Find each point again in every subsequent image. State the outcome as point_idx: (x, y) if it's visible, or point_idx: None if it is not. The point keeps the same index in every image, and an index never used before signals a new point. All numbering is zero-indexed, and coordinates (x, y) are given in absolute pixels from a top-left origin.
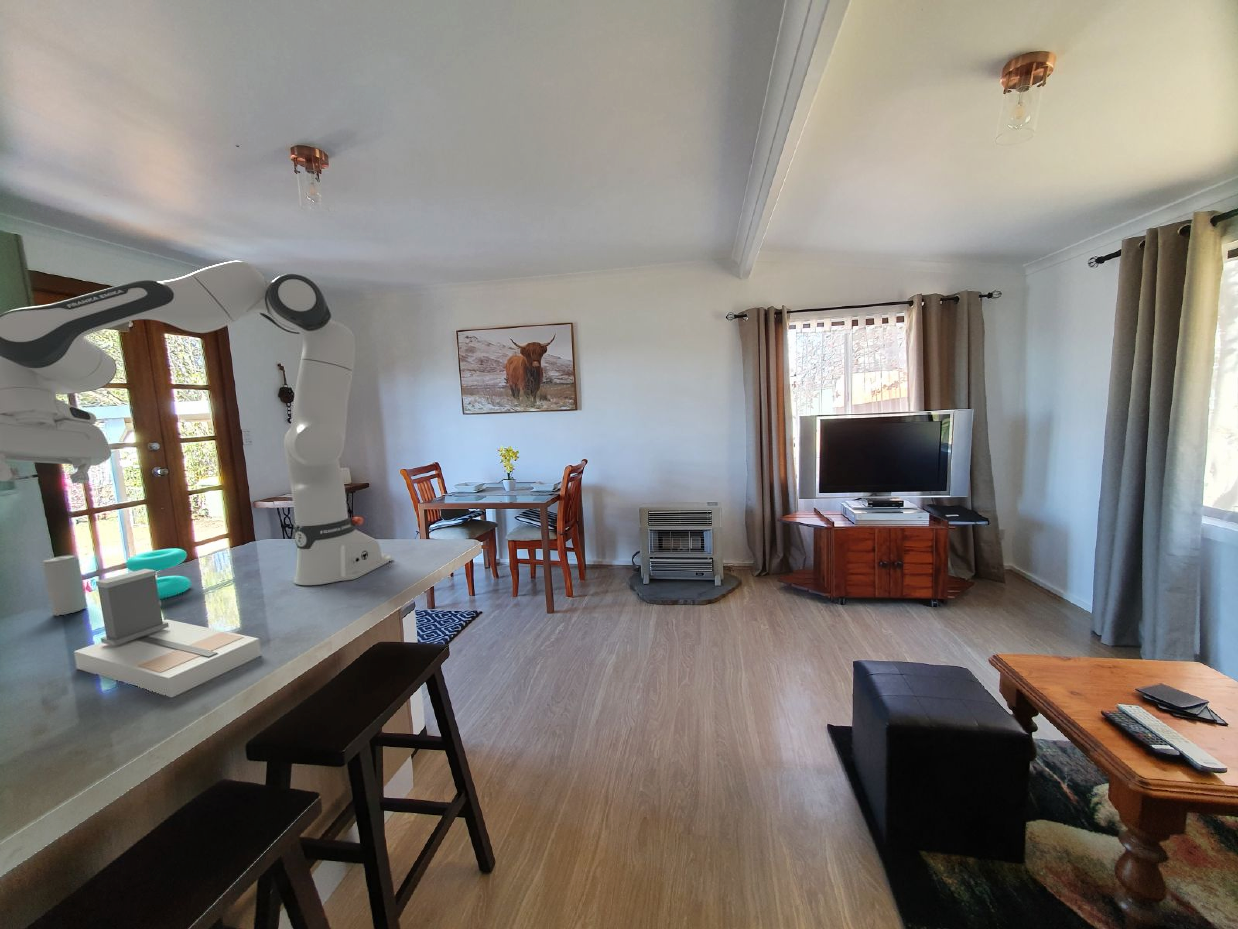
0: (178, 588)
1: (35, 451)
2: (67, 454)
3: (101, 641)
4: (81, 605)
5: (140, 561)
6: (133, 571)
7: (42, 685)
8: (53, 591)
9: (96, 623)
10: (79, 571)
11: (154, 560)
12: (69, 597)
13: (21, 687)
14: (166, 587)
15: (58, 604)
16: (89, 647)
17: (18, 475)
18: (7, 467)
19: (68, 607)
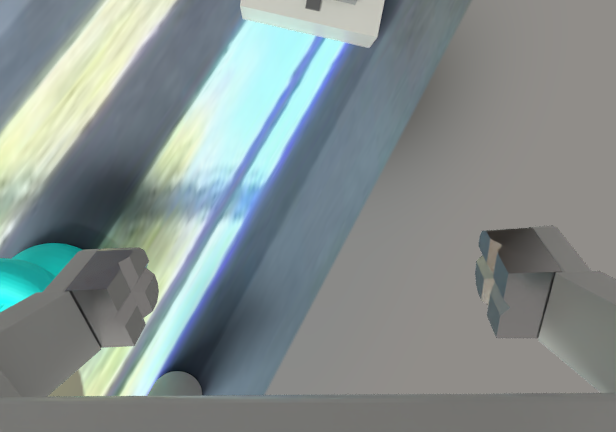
0: (52, 243)
1: (388, 406)
2: (56, 399)
3: (355, 3)
4: (167, 375)
5: None
6: None
7: (415, 40)
8: None
9: (217, 253)
10: None
11: (38, 279)
12: (178, 389)
13: (423, 70)
14: (67, 255)
15: (194, 394)
16: (362, 24)
17: (495, 234)
18: (581, 271)
19: (187, 379)
